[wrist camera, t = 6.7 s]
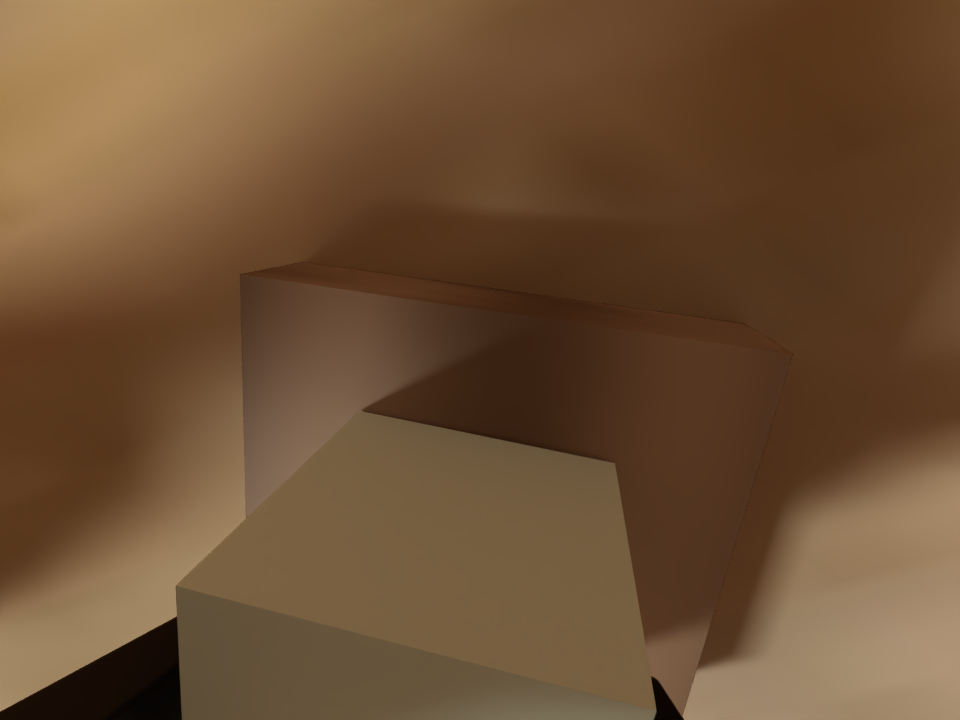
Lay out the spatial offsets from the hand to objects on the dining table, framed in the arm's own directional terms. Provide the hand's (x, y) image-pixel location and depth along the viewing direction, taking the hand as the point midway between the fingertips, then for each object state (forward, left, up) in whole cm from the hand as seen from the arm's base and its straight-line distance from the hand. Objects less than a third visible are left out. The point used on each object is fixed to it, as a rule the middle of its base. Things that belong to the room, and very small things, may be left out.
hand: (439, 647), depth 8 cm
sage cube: (0, 0, -2) cm, 3 cm away
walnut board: (0, 0, -6) cm, 6 cm away
